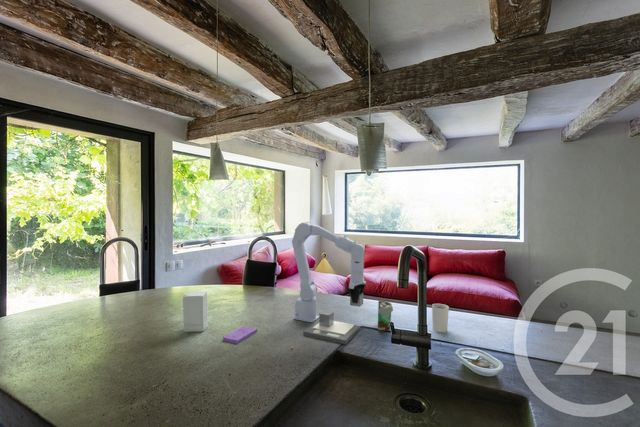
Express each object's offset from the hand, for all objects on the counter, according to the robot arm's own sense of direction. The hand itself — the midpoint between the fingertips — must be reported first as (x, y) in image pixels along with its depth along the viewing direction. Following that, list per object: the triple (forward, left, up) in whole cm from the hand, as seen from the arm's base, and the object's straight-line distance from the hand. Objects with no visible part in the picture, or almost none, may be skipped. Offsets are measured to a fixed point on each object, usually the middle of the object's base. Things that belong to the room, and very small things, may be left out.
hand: (356, 301), depth 136 cm
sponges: (-35, -35, -10) cm, 51 cm away
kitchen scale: (-5, -15, -9) cm, 18 cm away
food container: (+13, 0, -10) cm, 16 cm away
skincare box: (-56, -39, -10) cm, 69 cm away
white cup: (+34, +9, -10) cm, 36 cm away
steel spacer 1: (-8, -13, -7) cm, 18 cm away
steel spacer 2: (0, 0, -2) cm, 2 cm away
